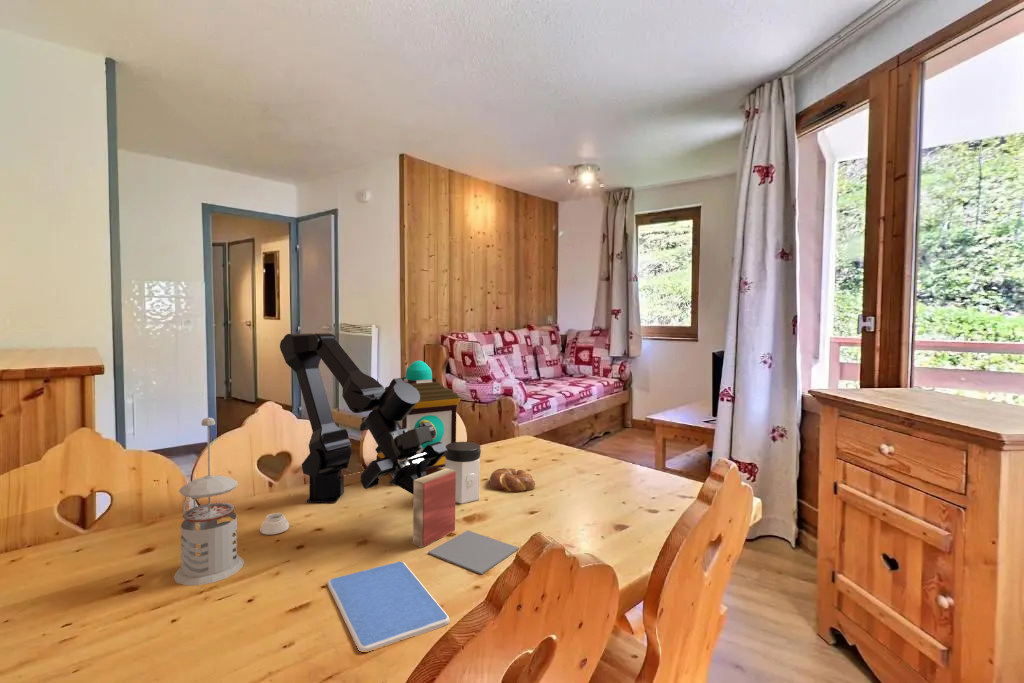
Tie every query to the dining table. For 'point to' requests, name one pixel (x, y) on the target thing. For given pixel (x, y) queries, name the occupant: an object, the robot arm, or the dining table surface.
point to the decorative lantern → (431, 408)
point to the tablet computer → (385, 605)
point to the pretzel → (511, 480)
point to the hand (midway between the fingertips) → (427, 500)
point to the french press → (208, 531)
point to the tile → (434, 507)
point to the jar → (464, 469)
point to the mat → (474, 551)
